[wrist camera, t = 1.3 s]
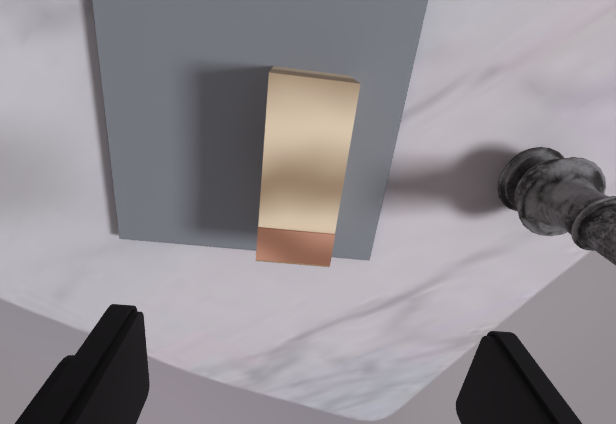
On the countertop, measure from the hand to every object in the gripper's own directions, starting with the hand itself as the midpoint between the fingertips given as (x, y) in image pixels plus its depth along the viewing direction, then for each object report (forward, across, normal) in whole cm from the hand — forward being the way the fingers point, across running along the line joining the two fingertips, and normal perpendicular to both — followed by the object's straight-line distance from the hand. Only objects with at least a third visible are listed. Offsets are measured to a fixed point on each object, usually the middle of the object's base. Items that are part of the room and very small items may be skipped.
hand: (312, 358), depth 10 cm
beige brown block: (+18, 0, 0) cm, 18 cm away
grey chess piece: (+19, -18, 0) cm, 26 cm away
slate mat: (+19, +4, -3) cm, 20 cm away
